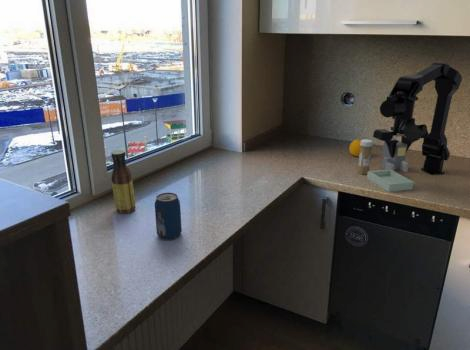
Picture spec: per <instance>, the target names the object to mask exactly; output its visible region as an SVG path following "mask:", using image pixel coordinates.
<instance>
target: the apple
mask: <svg viewBox="0 0 470 350" xmlns="http://www.w3.org/2000/svg"><path fill="white" fill-rule="evenodd" d="M361 140H362V139H355V140H353V141H352V142H350V145H349V148H348V149H349V152H350V154H351V155H352V156H354V157H359V155H360V148H361V145H360V144H361Z"/></svg>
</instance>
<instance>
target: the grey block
mask: <svg viewBox="0 0 470 350" xmlns="http://www.w3.org/2000/svg"><path fill="white" fill-rule="evenodd" d="M398 141H399V142H398V143H397V144H396V147H395V153H394V157H393V158H392V157H391V156H390V153H389V150H388V147H387V144H386V142H385V141H383V146H382V153H381V156H383V157H387V158H389V159H391V160H393V161H404V162H406V155H407V152H406V150H407V144H405V143H403V142H401V141H400V140H398ZM407 151H408V150H407Z"/></svg>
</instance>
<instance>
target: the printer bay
mask: <svg viewBox="0 0 470 350" xmlns="http://www.w3.org/2000/svg"><path fill="white" fill-rule="evenodd" d="M381 168H382V169H381V170H389V169H391V170H393V171H394V172H395V170H399V171H402V172H404V173H408V170H409V163H407V162H406V161H393V160H391V159H389V158H387V157H385V156H383V158H382V166H381Z"/></svg>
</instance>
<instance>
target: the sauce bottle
mask: <svg viewBox="0 0 470 350" xmlns="http://www.w3.org/2000/svg"><path fill="white" fill-rule="evenodd" d="M110 155H111V158H112V164H113V165H112V166H113V168H112V173H111V178H110V180H111V185H112V192H113V200H114V205H115V209H116V212H117V213H119V214H123V215H124V214H128V213H129V214H130V213H133V212H134V211H135V210H136V197H135V191H134V184H133V183H134V182H133V177H132V172H131V170H130V168H129V167H128V166H127V163H126V151H125V150H123V149H118V150H116V149H115V150H113V151H111V154H110Z"/></svg>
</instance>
